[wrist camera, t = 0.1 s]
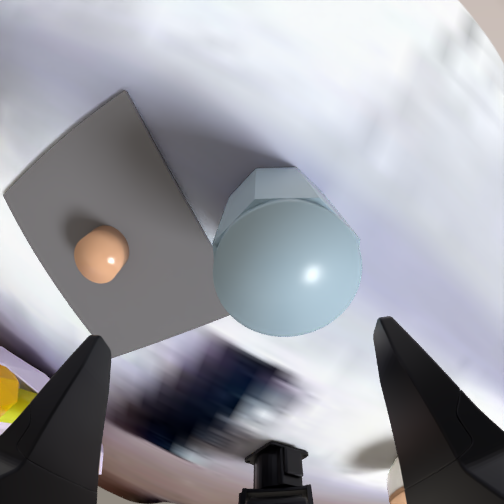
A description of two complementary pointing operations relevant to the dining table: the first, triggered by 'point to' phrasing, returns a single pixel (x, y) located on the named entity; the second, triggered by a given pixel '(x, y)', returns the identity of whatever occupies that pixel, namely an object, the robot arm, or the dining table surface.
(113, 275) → the tan rounded pebble
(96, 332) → the placemat
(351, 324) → the dining table surface
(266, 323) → the dome-topped octagonal prism
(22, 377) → the fruit bowl
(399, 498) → the lidded jar
